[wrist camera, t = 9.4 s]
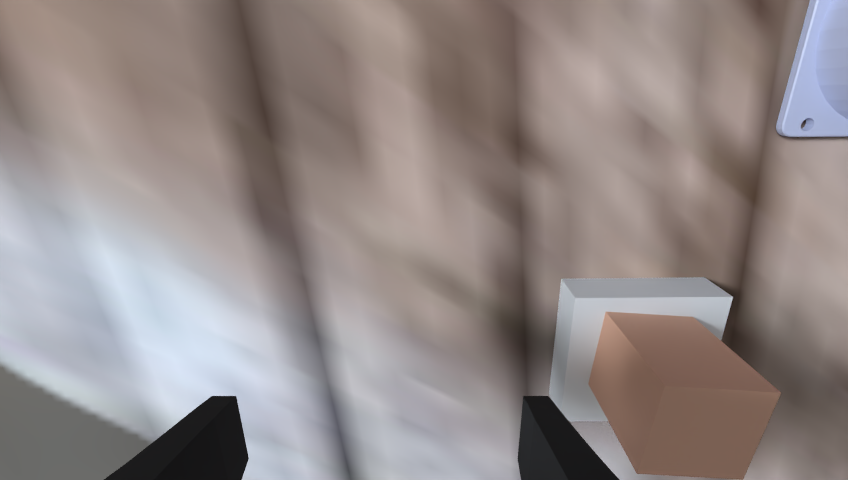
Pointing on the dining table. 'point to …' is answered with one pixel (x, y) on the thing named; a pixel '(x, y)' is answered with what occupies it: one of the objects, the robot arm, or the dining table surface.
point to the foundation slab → (627, 295)
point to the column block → (679, 396)
